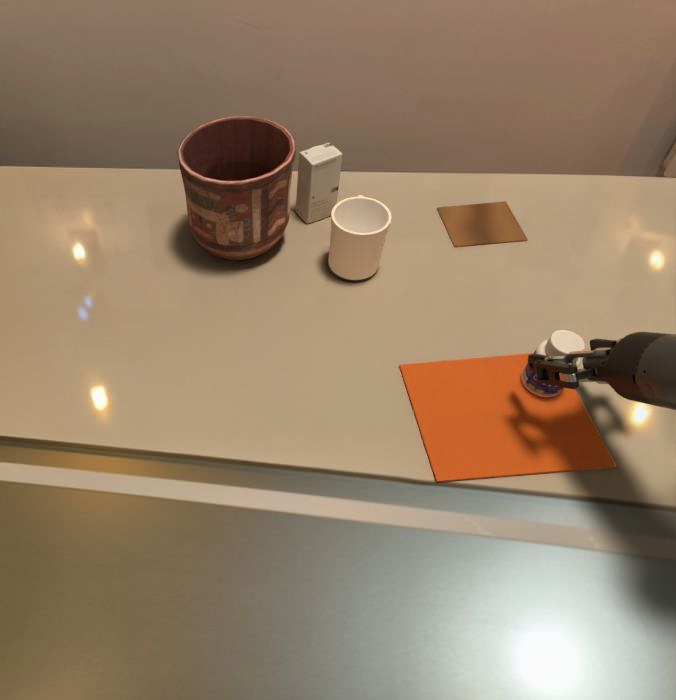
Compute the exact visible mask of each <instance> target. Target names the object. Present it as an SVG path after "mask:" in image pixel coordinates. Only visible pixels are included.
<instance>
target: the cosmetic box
mask: <svg viewBox="0 0 676 700" xmlns="http://www.w3.org/2000/svg"><path fill="white" fill-rule="evenodd" d="M343 156H344V155H343V152H341V150H339V149H338V148H336V147H335V146H334V145H333V144H332V143H331V142H326V143H323V144H320V145H315V146H312V147H310V148H308V149H304V150H302V151H299V154H298V164H297V165H298V166H297V180H296V181H297V182H296V196H295V197H296V199H295V213H296V214H297V215H298V216H299V217H300V219H302V221H303V222H304V223H305V224H311V223H315V222H318V221H320V220H323V219H326V218H329V217H331V213H332V209H333V208H334V206H335V205H336V204H337V203H338V196H339V186H340V180H341V171H342V163H343Z"/></svg>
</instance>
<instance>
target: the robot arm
mask: <svg viewBox="0 0 676 700" xmlns="http://www.w3.org/2000/svg"><path fill="white" fill-rule="evenodd" d="M589 349H590V350H583V351H572V352H569V353H568V354H567V355H565V356H553V357H552V356H547V355H541V354H531V355H529V356H528V359H527V360H528V366H529V370H530V371H532V372H536V377H537V378H536V379H537V382H538V383H543V384H548V385H553V386H558V387H564V388H569V389H579V388H580V387H581V385H580V383H597V384H599V385H609V386H610V387H611V388H612V390H613V391H614V392H615V393H616V394H617V395H618V396H620V397H622V398H623V399H626V400H628V401H631V402H636V403H642V404H646V405H649V406H654V407H659V408H664V409H669V410H673V411H676V333H664V332H663V333H662V332H653V331H652V332H651V331H636V332H633V333H629V334H627V335H625V336H623V337H622V338H619V339H616V340H615V339H605V338H592V339H590V340H589ZM576 358H581V363H582V368H577V364H576ZM558 362H564V363H558ZM565 363H566V364H565Z"/></svg>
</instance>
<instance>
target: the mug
mask: <svg viewBox="0 0 676 700" xmlns="http://www.w3.org/2000/svg"><path fill="white" fill-rule="evenodd" d="M391 212H392V211H391V210H390V209H389V207H388V206H387V205H386V204H384V202H382V201H379V200H377V199H375V198H371V197H368V196H367V197H366V196H365V195H363V194H358V195H357V196H352V197H347V198H345V199H341V200H340V201H338V202H337V204H336V205H335V206H334V208H333V209H332V213H331V216H330V237H329V238H330V239H329V249H328V260H327V263H328V268H329V270H330V272H331V274H333V275H334V276H335V277H337V278H338V279H340V280H342V281H345V282H351V283H360V282H365V281H367V280H369V279H371V278H372V277H374V276H375V275H376V274H377V272H378V270H379V266H380V262H381V258H382V254H383V250H384V246H385V242H386V237H387V234H388V232H389V228H390V226H391V223H392V213H391Z"/></svg>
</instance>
